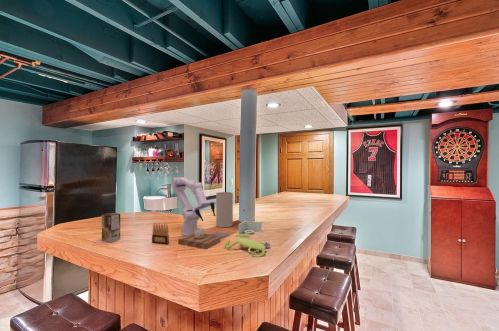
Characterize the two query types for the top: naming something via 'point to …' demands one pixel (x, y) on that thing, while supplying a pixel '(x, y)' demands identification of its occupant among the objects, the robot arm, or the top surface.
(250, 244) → the figurine
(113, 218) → the coffee box
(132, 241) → the top surface
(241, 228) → the l-shaped corner panel
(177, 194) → the robot arm
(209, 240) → the walnut board
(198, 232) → the steel peg
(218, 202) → the cylinder vase
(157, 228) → the ammunition clip
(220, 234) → the rubber mat
